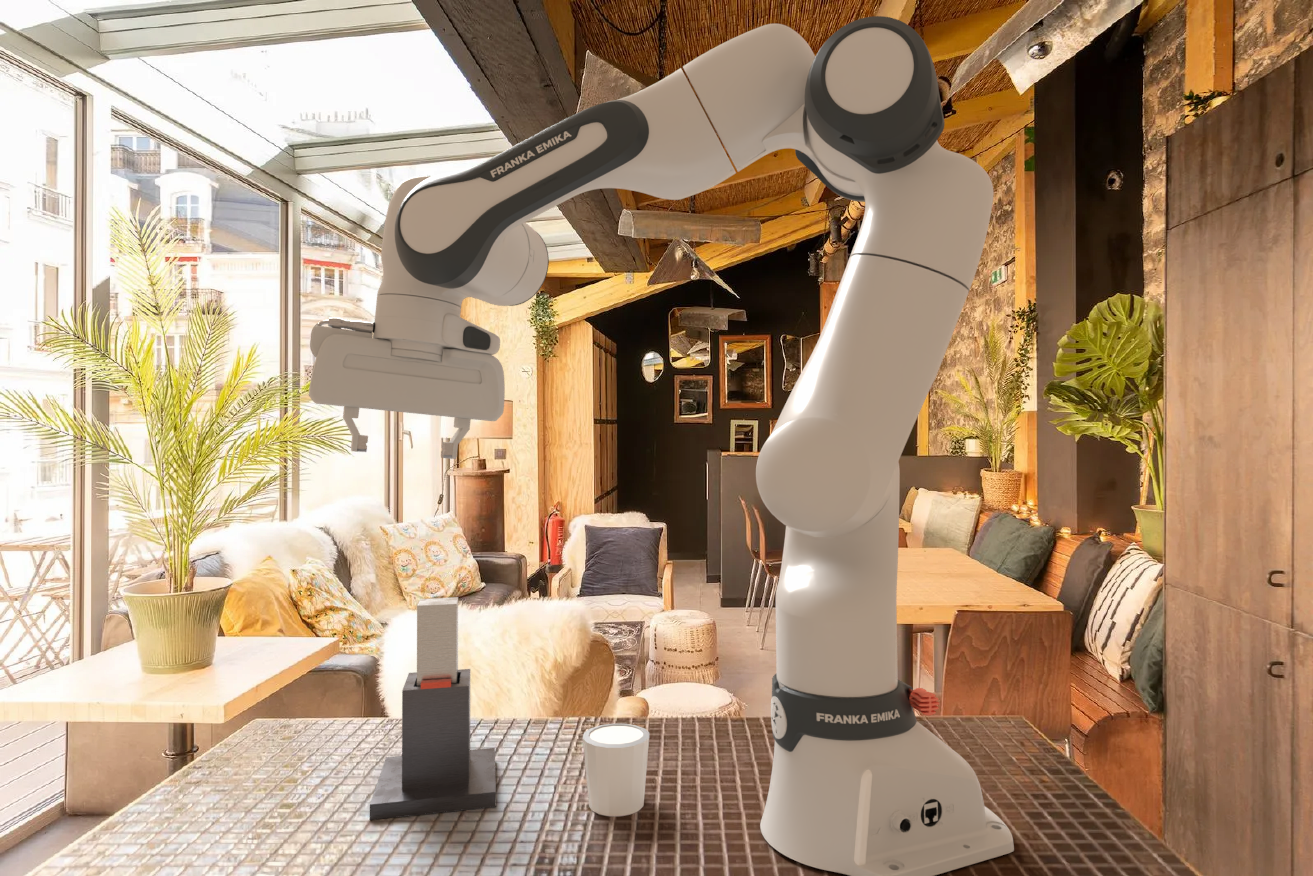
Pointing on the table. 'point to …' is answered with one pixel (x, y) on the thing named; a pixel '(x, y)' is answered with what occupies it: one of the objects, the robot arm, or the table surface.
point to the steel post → (437, 639)
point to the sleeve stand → (435, 755)
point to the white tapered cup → (616, 768)
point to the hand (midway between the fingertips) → (404, 455)
